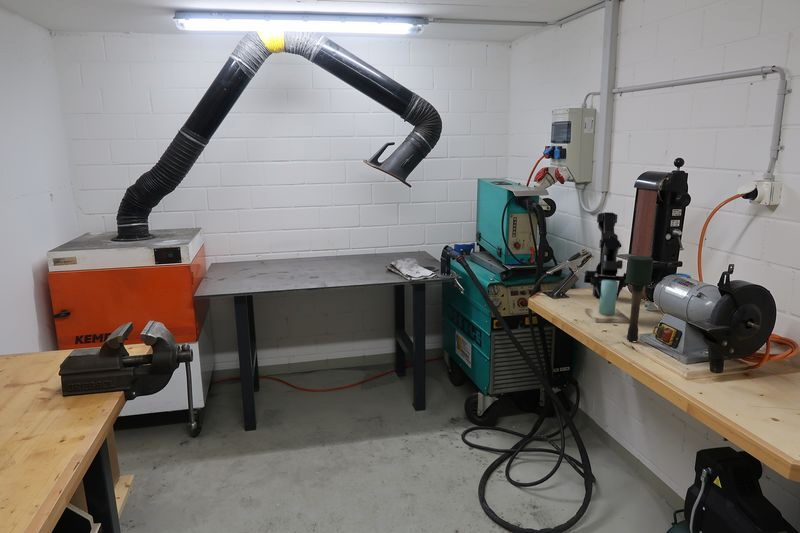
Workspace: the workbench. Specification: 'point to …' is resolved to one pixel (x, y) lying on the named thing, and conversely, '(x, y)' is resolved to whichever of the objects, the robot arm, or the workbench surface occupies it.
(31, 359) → the workbench surface
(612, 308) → the canister
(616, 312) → the board
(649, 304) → the pneumatic valve
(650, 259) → the stick grenade
